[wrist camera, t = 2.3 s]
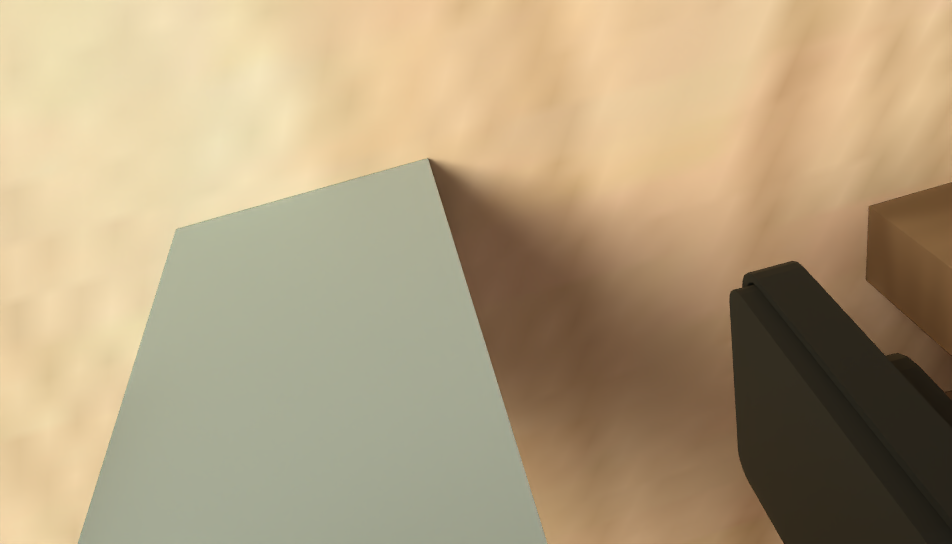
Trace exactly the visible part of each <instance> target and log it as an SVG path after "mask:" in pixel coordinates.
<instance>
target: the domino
mask: <svg viewBox="0 0 952 544" xmlns="http://www.w3.org/2000/svg"><path fill="white" fill-rule="evenodd" d="M78 544H547V541H546V538H545V534H544V531H543V528H542V525H541V522H540V518H539V515H538V512H537V509H536V505H535V502H534V499H533V496H532V492H531V489H530V486H529V483H528V480H527V476H526V473H525V470H524V467H523V463H522V460H521V457H520V454H519V451H518V447H517V444H516V441H515V438H514V434H513V431H512V428H511V425H510V421H509V418H508V415H507V412H506V409H505V405H504V402H503V399H502V396H501V392H500V389H499V386H498V383H497V380H496V376H495V373H494V370H493V367H492V363H491V360H490V357H489V354H488V350H487V347H486V344H485V341H484V338H483V334H482V331H481V328H480V325H479V321H478V318H477V315H476V312H475V309H474V305H473V302H472V299H471V296H470V292H469V289H468V286H467V283H466V279H465V276H464V273H463V270H462V267H461V263H460V260H459V257H458V254H457V250H456V247H455V244H454V241H453V238H452V234H451V231H450V228H449V225H448V221H447V218H446V215H445V212H444V208H443V205H442V202H441V199H440V196H439V192H438V189H437V186H436V183H435V179H434V176H433V173H432V170H431V167H430V163H429V160H428V158H427V159H423V160H420V161H416V162H413V163H409V164H406V165H402V166H399V167H395V168H392V169H388V170H384V171H381V172H377V173H374V174H370V175H367V176H363V177H360V178H356V179H353V180H349V181H346V182H342V183H338V184H335V185H331V186H328V187H324V188H321V189H317V190H314V191H310V192H307V193H303V194H299V195H296V196H292V197H289V198H285V199H282V200H278V201H275V202H271V203H268V204H264V205H260V206H257V207H253V208H250V209H246V210H243V211H239V212H236V213H232V214H229V215H225V216H221V217H218V218H214V219H211V220H207V221H204V222H200V223H197V224H193V225H190V226H186V227H182V228H179V229H176V231H175V235H174V238H173V241H172V244H171V247H170V251H169V254H168V257H167V260H166V263H165V267H164V270H163V273H162V276H161V279H160V283H159V286H158V289H157V292H156V295H155V299H154V302H153V305H152V308H151V311H150V315H149V318H148V321H147V324H146V327H145V331H144V334H143V337H142V340H141V343H140V346H139V350H138V353H137V356H136V359H135V362H134V366H133V369H132V372H131V375H130V378H129V382H128V385H127V388H126V391H125V394H124V398H123V401H122V404H121V407H120V410H119V414H118V417H117V420H116V423H115V426H114V430H113V433H112V436H111V439H110V442H109V445H108V449H107V452H106V455H105V458H104V461H103V465H102V468H101V471H100V474H99V477H98V481H97V484H96V487H95V490H94V493H93V497H92V500H91V503H90V506H89V509H88V513H87V516H86V519H85V522H84V525H83V529H82V532H81V535H80V538H79V541H78Z"/></svg>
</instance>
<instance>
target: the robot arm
mask: <svg viewBox="0 0 952 544" xmlns="http://www.w3.org/2000/svg"><path fill="white" fill-rule="evenodd" d="M730 317H731V334H732V352H733V370H734V387H735V405H736V422H737V440H738V452H739V457H740V462H741V465H742V468H743V470H744V473H745V475H746V477H747V479H748V481H749V483H750V485H751V487H752V488H753V490H754V492H755V494H756V495H757V497H758V499H759V501H760V502H761V504H762V506H763V508H764V509H765V511H766V513H767V515H768V516H769V518H770V520H771V522H772V523H773V525H774V527H775V529H776V530H777V532H778V534H779V536H780V537H781V539H782V541H783V543H784V544H952V400H951V399H950V398H949V397H948V396H947V395H946V394H945V393H944V392H943V391H942V390H941V389H940V388H939V387H938V386H937V385H936V383H935V382H934V381H933V380H932V379H931V378H930V377H929V376H928V375H927V374H926V373H925V372H924V371H923V370H922V369H921V368H920V367H919V366H918V365H917V364H916V363H914V362H913V361H912V360H911V359H910V358H908V357H907V356H904V355H901V354H899V353H896V354H891V355H887V356H885V355H884V354H883V353H882V352H881V351H880V350H879V349H878V347H877V346H876V345H875V344H874V343H873V342H872V341H871V340H870V339H869V338H868V337H867V336H866V334H865V333H864V332H863V331H862V330H861V329H860V328H859V327H858V326H857V325H856V324H855V323H854V321H853V320H852V319H851V318H850V317H849V316H848V315H847V314H846V313H845V312H844V311H843V309H842V308H841V307H840V306H839V305H838V304H837V303H836V302H835V301H834V300H833V299H832V298H831V296H830V295H829V294H828V293H827V292H826V291H825V290H824V289H823V288H822V287H821V286H820V284H819V283H818V282H817V281H816V280H815V279H814V278H813V277H812V276H811V275H810V274H809V273H808V271H807V270H806V269H805V268H804V267H803V266H802V265H800V264H799V263H798V262H795V261H791V262H787V263H783V264H779V265H776V266H772V267H768V268H765V269H761V270H757V271H753V272H750V273H747V274H746V275H744V278H743V284H742V288H739V289H735V290H733V291H731V293H730Z"/></svg>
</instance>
